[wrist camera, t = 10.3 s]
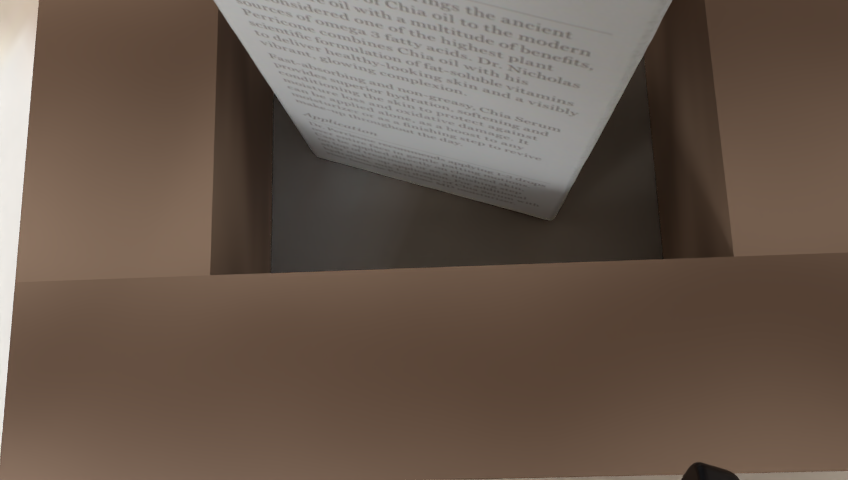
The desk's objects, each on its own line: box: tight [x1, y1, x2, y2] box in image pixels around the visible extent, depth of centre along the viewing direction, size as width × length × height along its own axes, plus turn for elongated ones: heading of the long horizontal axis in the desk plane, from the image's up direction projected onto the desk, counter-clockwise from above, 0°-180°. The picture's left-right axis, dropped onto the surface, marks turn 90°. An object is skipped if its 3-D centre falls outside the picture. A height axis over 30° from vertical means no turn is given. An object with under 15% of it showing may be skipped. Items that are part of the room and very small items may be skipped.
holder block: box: [0, 0, 848, 480], centre depth 15 cm, size 16×16×4 cm
